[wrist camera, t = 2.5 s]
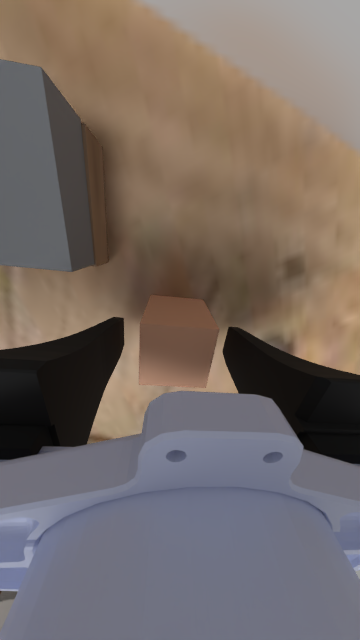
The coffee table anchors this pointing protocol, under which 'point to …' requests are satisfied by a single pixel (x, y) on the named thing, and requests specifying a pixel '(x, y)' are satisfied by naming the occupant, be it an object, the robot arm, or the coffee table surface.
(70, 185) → the charcoal slab
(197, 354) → the terracotta block
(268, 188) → the coffee table surface
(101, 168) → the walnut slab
